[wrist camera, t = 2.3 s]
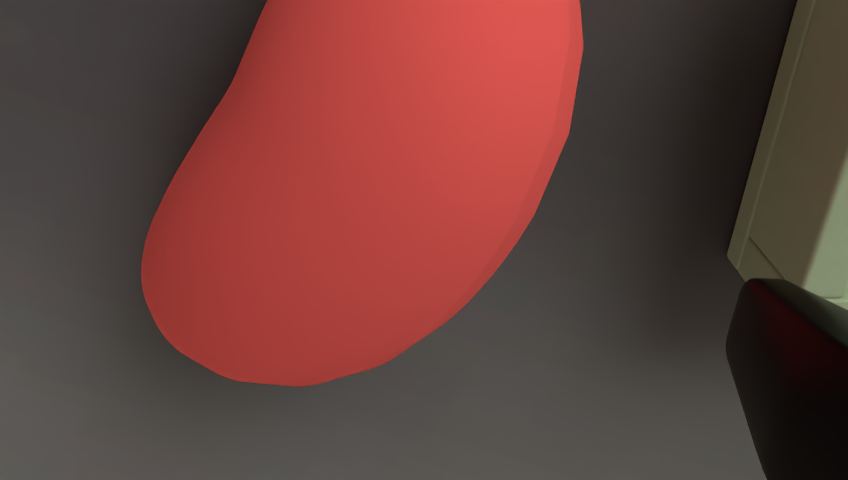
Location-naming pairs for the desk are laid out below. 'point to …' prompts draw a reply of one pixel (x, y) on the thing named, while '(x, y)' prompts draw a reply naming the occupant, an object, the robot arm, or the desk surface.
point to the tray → (802, 163)
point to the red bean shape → (359, 181)
